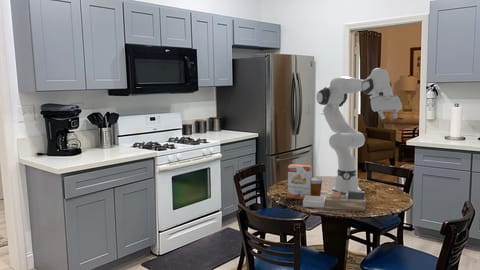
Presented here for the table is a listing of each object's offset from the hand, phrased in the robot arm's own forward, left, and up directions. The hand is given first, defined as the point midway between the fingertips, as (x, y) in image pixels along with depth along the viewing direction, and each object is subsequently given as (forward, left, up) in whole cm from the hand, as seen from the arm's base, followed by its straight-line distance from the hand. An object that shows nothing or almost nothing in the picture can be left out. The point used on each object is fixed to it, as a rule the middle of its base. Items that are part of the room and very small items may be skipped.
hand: (389, 118), depth 226 cm
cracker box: (-5, -51, -51) cm, 72 cm away
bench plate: (+6, -23, -51) cm, 56 cm away
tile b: (+9, -28, -46) cm, 55 cm away
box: (+6, -41, -51) cm, 66 cm away
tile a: (+4, -28, -46) cm, 54 cm away
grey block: (+6, -18, -46) cm, 49 cm away
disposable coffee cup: (-8, -42, -51) cm, 67 cm away
